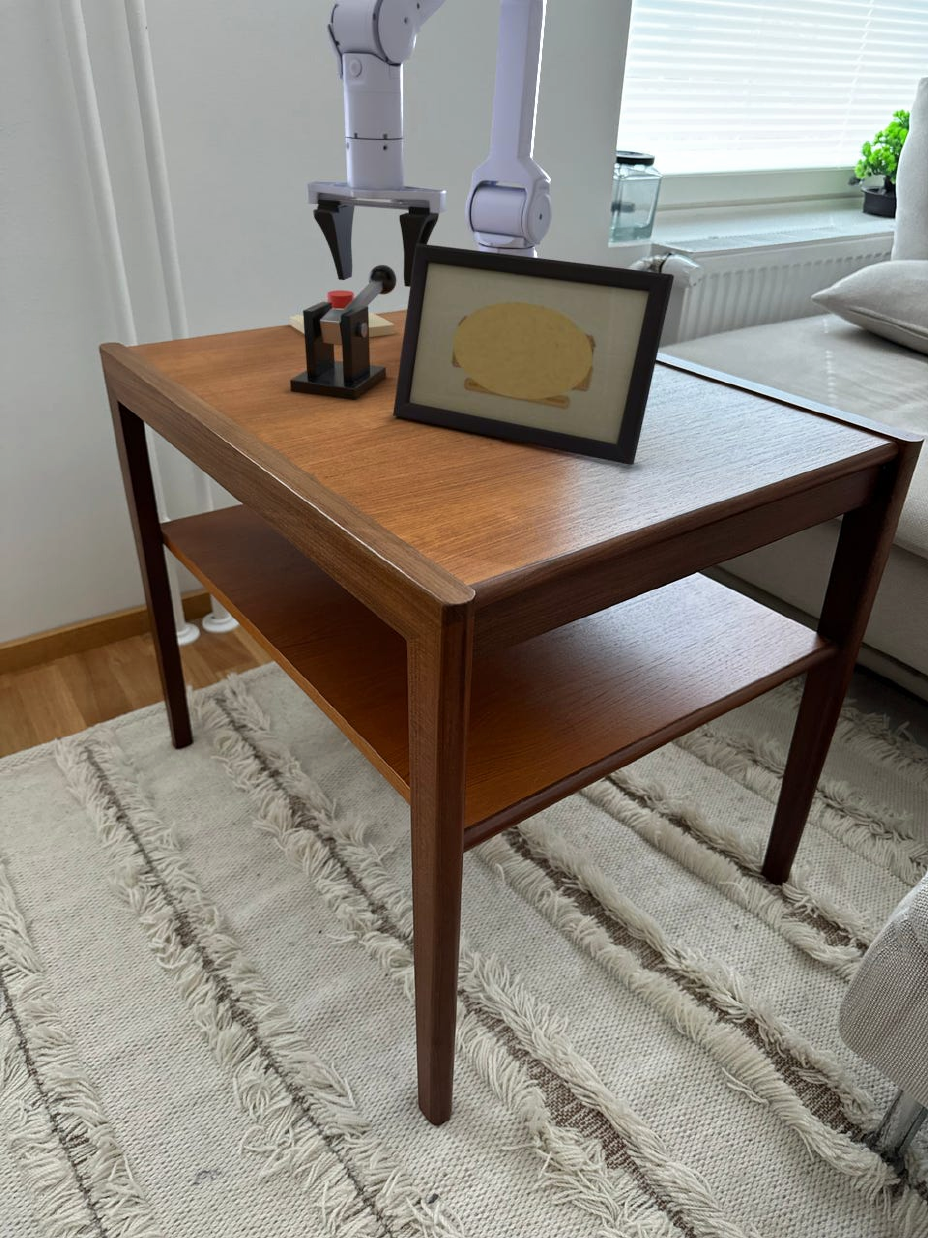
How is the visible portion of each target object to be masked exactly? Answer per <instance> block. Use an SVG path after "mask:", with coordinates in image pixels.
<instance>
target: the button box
mask: <svg viewBox="0 0 928 1238" xmlns="http://www.w3.org/2000/svg"><path fill="white" fill-rule="evenodd" d="M323 301H325V302H328V299H327V300H322V301H319V302H317V303H316V304H318V303H321V302H323ZM332 309H335V308H332ZM338 310H344V309H338ZM368 313H369V338H373V337H380V336H391V335H395V334H396V325H395V323H392V322H390V321H388V320H386V319H384V318H383V317H382V316H379V315H377V314H375V313H373V312H371V311H369V310H368ZM289 320H290V326H291V327H293V328H294V329H296V330H297V331H299V332H300V333H302V334H304V319H303V314H297V315H289Z"/></svg>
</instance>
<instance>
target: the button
mask: <svg viewBox="0 0 928 1238" xmlns="http://www.w3.org/2000/svg"><path fill="white" fill-rule="evenodd" d="M326 293H327V294H326V295H327V300H328V302H332V308H335V309H344V308H345V307H346V306H347V305H348V304H349V303H350V302H351V301H352V300H353V299H354V298H355V292H353V291H351V290H344V289H340V290H338V289H337V290H331V291H328V292H326Z"/></svg>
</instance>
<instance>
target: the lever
mask: <svg viewBox="0 0 928 1238" xmlns="http://www.w3.org/2000/svg"><path fill="white" fill-rule="evenodd" d="M396 285H397V275H396V272H395V271H394V269H393V268H392V267H390V266H388V265H387V264H386V265H385V264H378V265H376V266H374V267H373V268H372V269H371V270H370V272H369V274H368V284H367V285H366V286H365V287H364V288H363V289H361V290H360V292H359V293H358V294H357V295H356V296H354V299H353V300H352V301H351V302H350V303H349V304H348V305H347V306H346V307H345V308H344V310H338V309H330V310H329V311H328V312H327V313H326V314H325V315H324V316H323V317H322V318H321V319H320V327H321V334H322V340H323V343H326V344H334V346H335V345H336V346H342V331H341V315H342V314H344V313H345V312H347V311H349V310H351V309H353V308H355V307H357V306H359V305H362V306H368V307H369V305H370V304H371V303H372V302H373V301H374V300H375V298H377V297H378V295H388V294H390V293H391V292H393V291H394V289H395V288H396Z"/></svg>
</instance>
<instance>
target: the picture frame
mask: <svg viewBox="0 0 928 1238" xmlns="http://www.w3.org/2000/svg"><path fill="white" fill-rule="evenodd" d="M674 278H675V275H674V274H672V273H665V272H658V271H657V272H656V271H648V270H640V269H633V268H631V269H630V268H623V267H615V266H606V265H600V264H591V263H590V264H589V263H582V262H575V261H565V260H557V259H550V258H541V257H537V258H534V257H526V256H517V255H509V254H501V253H493V252H485V251H478V250H477V249H476V250H475V249H467V248H461V247H460V248H459V247H450V246H442V245H436V244H435V245H433V244H428V243H427V244H419V243H416V248H415V255H414V263H413V270H412V277H411V285H410V287H409V292H408V300H407V308H406V316H405V323H404V332H403V338H402V344H401V345H402V346H401V352H400V360H399V368H398V369H399V370H398V375H397V382H396V389H395V396H394V397H395V398H394V404H393V412H392V416H393V417H398V418H404V419H408V420H414V421H417V422H423V423H428V424H433V425H437V426H442V427H447V428H451V429H457V430H462V431H464V432H465V431H466V432H470V433H475V434H480V435H484V436H489V437H494V438H500V439H504V440H509V441H514V442H518V443H523V444H527V445H532V446H536V447H537V446H538V447H542V448H545V449H552V450H556V451H561V452H565V453H566V452H567V453H571V454H575V455H580V456H585V457H589V458H594V459H599V460H604V461H610V462H613V463H618V464H623V465H628V466H634V465H635V461H636V455H637V451H638V446H639V442H640V438H641V437H640V436H641V431H642V428H643V423H644V419H645V413H646V408H647V404H648V400H649V395H650V390H651V386H652V381H653V378H654V377H653V376H654V372H655V367H656V362H657V358H658V354H659V353H658V352H659V349H660V344H661V339H662V335H663V330H664V325H665V321H666V315H667V312H668V311H667V310H668V307H669V302H670V298H671V292H672V288H673V285H674V284H673V283H674V280H675V279H674Z"/></svg>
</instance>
